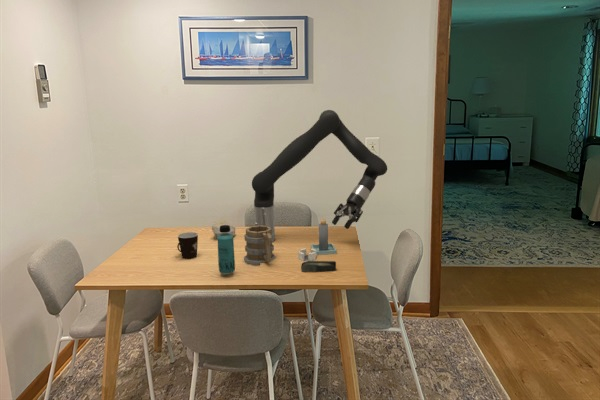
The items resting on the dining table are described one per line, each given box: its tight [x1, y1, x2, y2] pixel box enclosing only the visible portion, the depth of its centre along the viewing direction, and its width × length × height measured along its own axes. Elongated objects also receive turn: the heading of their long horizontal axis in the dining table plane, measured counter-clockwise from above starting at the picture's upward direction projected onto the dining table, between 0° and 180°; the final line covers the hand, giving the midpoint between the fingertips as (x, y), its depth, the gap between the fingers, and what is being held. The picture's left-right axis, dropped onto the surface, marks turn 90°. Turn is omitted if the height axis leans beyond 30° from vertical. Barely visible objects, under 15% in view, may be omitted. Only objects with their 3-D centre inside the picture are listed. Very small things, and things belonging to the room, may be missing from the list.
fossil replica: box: [211, 220, 236, 239], centre depth 232 cm, size 12×8×10 cm
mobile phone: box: [300, 260, 337, 273], centre depth 183 cm, size 5×3×15 cm
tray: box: [310, 243, 338, 256], centre depth 207 cm, size 10×10×2 cm
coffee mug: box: [176, 231, 199, 260], centre depth 204 cm, size 12×9×10 cm
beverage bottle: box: [216, 224, 236, 275], centre depth 183 cm, size 6×7×20 cm
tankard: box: [243, 225, 277, 266], centre depth 195 cm, size 20×13×15 cm, turn 22°
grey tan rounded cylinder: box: [318, 218, 329, 251], centre depth 205 cm, size 4×4×14 cm
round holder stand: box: [297, 247, 318, 262], centre depth 198 cm, size 8×8×4 cm
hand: (339, 225), depth 209 cm, fingers open, 8 cm apart
